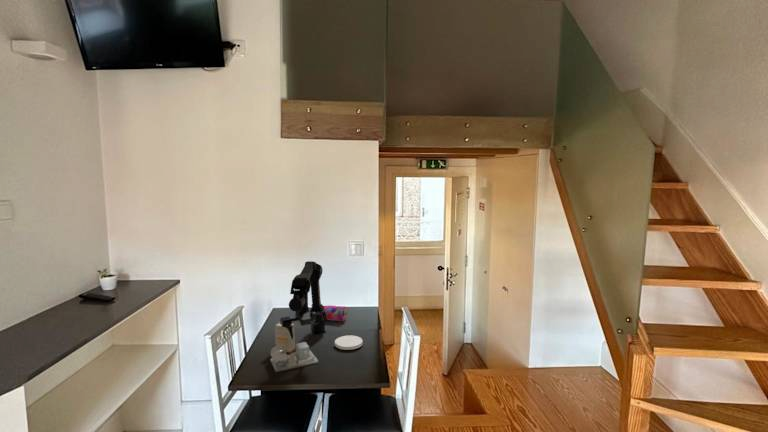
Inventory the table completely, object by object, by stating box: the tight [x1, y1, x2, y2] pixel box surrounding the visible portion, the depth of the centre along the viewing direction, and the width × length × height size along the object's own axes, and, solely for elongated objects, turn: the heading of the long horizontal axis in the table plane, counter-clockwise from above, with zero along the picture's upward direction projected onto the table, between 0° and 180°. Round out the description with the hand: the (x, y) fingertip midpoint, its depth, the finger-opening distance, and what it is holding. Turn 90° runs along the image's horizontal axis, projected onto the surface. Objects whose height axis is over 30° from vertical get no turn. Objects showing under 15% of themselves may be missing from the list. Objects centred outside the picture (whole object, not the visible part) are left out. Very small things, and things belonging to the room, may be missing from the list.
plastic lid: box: [334, 334, 364, 351], centre depth 193 cm, size 14×14×2 cm
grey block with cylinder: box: [295, 341, 310, 360], centre depth 176 cm, size 4×8×6 cm, turn 28°
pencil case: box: [310, 304, 348, 322], centre depth 229 cm, size 22×9×9 cm, turn 76°
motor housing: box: [269, 345, 319, 373], centre depth 175 cm, size 19×12×7 cm, turn 118°
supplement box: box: [274, 322, 296, 354], centre depth 187 cm, size 8×5×13 cm, turn 71°
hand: (302, 337), depth 176 cm, fingers open, 9 cm apart
